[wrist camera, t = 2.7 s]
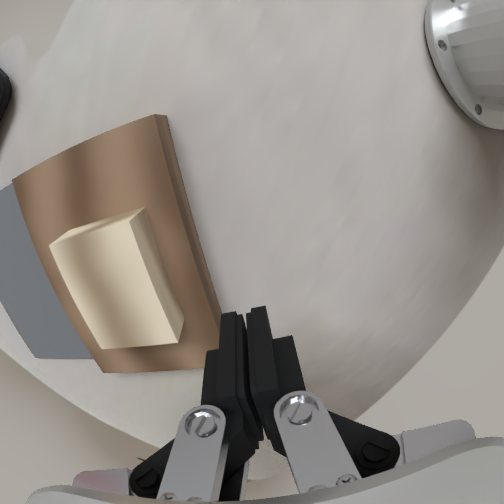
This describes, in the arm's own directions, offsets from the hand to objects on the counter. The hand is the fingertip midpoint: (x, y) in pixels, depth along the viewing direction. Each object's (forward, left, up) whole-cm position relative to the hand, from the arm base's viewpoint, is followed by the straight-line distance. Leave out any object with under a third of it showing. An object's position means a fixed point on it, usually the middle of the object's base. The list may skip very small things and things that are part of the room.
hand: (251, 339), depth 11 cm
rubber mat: (+21, 0, -10) cm, 23 cm away
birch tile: (+8, 0, -7) cm, 11 cm away
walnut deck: (+9, 0, -10) cm, 13 cm away
